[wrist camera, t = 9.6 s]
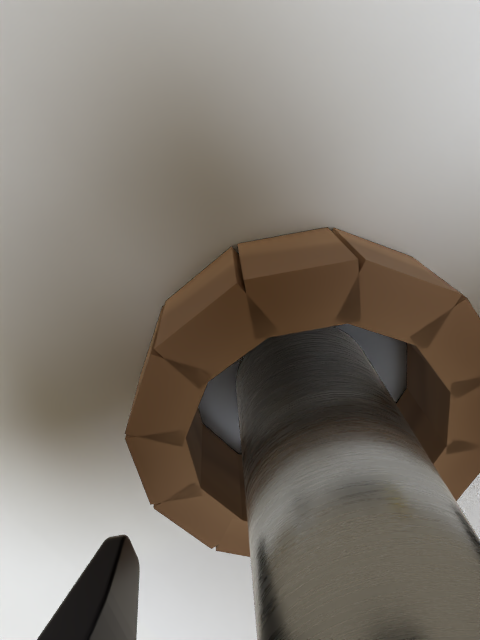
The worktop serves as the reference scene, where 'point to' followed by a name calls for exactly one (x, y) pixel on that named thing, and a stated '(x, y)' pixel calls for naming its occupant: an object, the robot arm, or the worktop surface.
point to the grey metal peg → (346, 503)
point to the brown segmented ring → (285, 318)
